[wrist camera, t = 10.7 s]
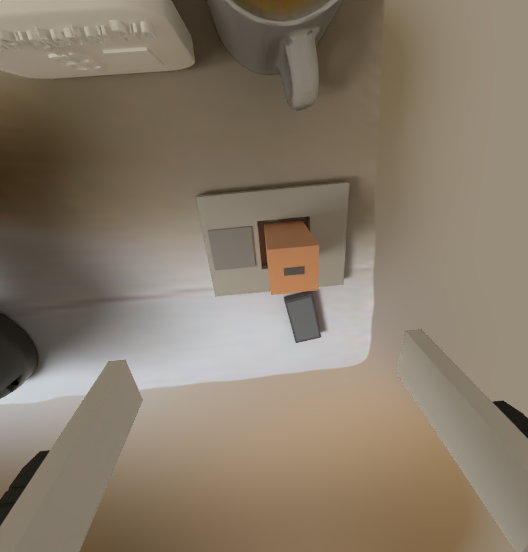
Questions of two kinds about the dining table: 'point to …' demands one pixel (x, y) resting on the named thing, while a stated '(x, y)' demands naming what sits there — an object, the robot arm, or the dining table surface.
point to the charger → (291, 257)
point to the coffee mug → (277, 39)
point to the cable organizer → (92, 38)
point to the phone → (302, 316)
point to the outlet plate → (270, 206)
